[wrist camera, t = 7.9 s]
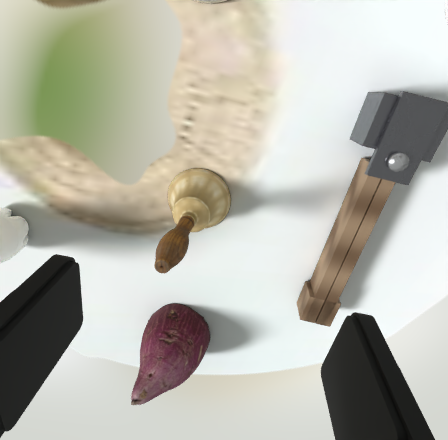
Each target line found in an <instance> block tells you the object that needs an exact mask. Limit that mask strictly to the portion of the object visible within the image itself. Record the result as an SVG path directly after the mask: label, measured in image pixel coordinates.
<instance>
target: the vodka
mask: <svg viewBox="0 0 448 440" xmlns="http://www.w3.org/2000/svg"><path fill="white" fill-rule="evenodd" d="M445 16H446V21H447V24H448V0H445Z"/></svg>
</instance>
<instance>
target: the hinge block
mask: <svg viewBox="0 0 448 440" xmlns="http://www.w3.org/2000/svg"><path fill="white" fill-rule="evenodd" d="M447 129H448V102H444V101H440V100H436V99H432V98H428V97H424V96H420V95H416V94H412V93H408V92H404V91H401V92H400V94H399V96H396V95H392V94H388V93H375V92H368V94H367V96H366V99H365V101H364V104H363V106H362V109H361V111H360V114H359V116H358V119H357V122H356V124H355V127H354V129H353V132H352V134H351V137H350V140H352V141H354V142H356V143H358V144H360V145H362V146H366V147H370V148H374V149H375V151H374V153H373V155H372V157H371V160H370V162H369V164H368V166H367V169H366V171H365V173H364V174H366V175H368V176H372V177H376V178H380V179H385V180H389V181H393V182H397V183H401V184H405V185H409V183H410V181H411V179H412V177H413V175H414V173H415V171H416V169H417V167H418V165H419V163H420V161H421V160H423V161H427V162H431V160H432V158H433V156H434V154H435V152H436V150H437V148H438V146H439V145H440V143H441V141H442V139H443V137H444V135H445V133H446V131H447Z"/></svg>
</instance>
